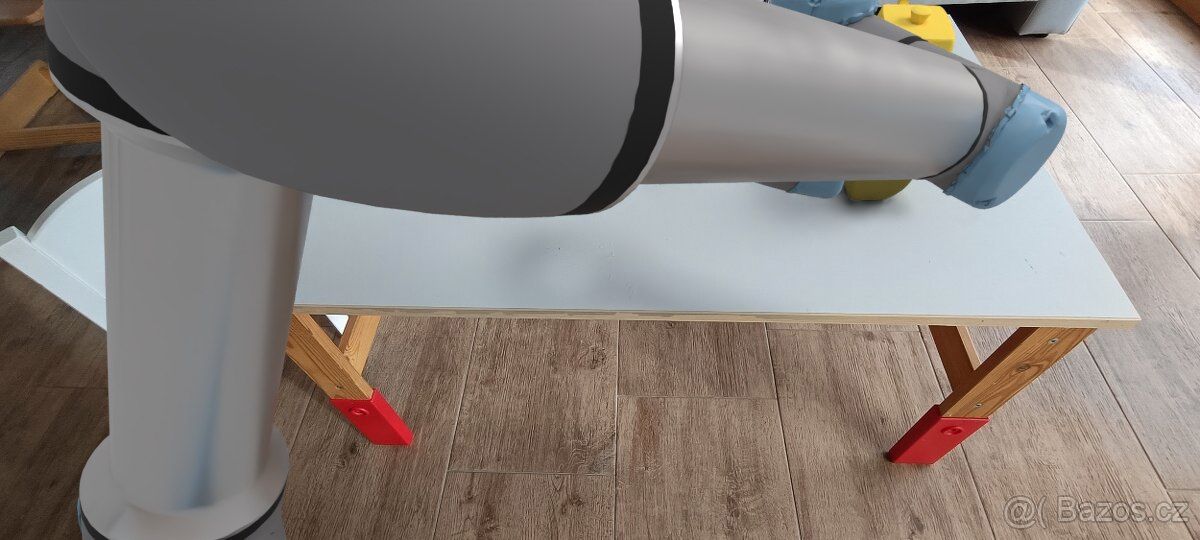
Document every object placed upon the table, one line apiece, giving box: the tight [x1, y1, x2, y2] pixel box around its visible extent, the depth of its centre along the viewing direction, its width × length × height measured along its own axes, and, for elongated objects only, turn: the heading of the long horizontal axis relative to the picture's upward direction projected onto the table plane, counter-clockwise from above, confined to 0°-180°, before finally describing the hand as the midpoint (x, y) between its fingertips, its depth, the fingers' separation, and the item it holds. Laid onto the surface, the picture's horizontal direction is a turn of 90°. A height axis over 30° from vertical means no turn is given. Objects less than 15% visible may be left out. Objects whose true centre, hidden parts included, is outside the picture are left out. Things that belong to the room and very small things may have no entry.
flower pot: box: [843, 179, 913, 201], centre depth 82 cm, size 9×9×9 cm
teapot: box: [876, 0, 956, 53], centre depth 99 cm, size 20×12×12 cm, turn 170°
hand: (487, 76), depth 65 cm, fingers closed on beverage can, 6 cm apart
